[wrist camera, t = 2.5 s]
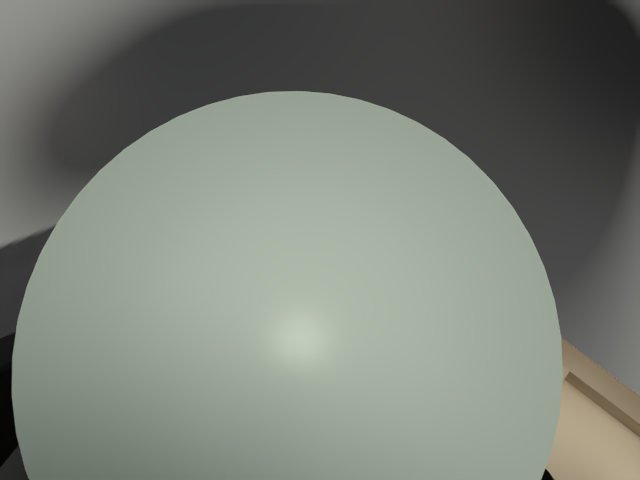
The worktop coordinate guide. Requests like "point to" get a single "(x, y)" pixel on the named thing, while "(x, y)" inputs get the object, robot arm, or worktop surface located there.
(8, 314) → the worktop surface
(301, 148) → the pillar candle
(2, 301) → the worktop surface
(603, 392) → the tray
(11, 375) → the robot arm
